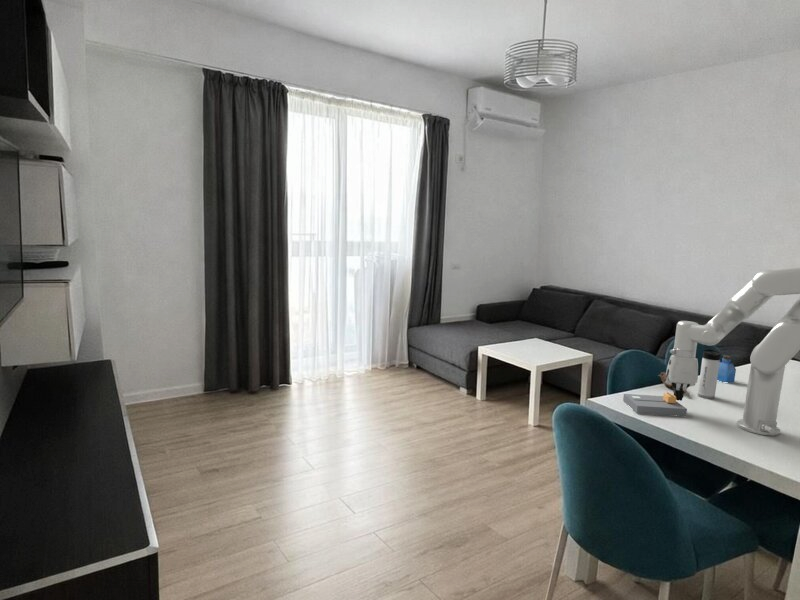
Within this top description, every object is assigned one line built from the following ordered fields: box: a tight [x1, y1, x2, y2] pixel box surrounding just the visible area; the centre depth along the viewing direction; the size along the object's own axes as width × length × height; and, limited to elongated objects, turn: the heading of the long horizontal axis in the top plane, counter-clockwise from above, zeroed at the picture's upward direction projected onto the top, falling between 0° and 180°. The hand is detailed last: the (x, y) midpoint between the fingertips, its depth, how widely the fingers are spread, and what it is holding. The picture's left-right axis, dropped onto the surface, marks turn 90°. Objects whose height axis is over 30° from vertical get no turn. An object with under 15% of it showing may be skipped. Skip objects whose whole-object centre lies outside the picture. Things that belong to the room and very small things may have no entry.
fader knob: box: [662, 392, 677, 403], centre depth 195 cm, size 4×3×3 cm
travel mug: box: [697, 348, 721, 400], centre depth 213 cm, size 6×7×20 cm
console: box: [622, 393, 688, 417], centre depth 196 cm, size 14×18×3 cm
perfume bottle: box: [717, 354, 737, 383], centre depth 239 cm, size 6×6×12 cm
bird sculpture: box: [657, 371, 688, 393], centre depth 223 cm, size 7×25×5 cm, turn 178°
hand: (677, 399), depth 195 cm, fingers closed
